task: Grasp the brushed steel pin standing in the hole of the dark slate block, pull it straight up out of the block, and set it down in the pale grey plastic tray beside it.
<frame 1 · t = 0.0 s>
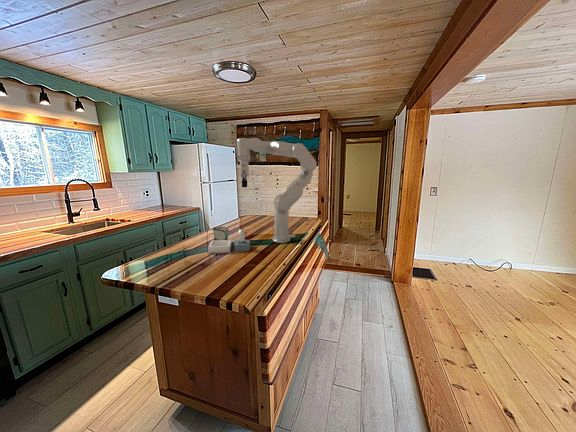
hand: (244, 186, 148), 37 cm above the countertop, tool pointing down, fingers open, 9 cm apart
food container: (223, 242, 154), on the countertop
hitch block: (242, 248, 142), on the countertop
steel pin: (242, 239, 141), in the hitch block
parts tray: (220, 249, 140), on the countertop
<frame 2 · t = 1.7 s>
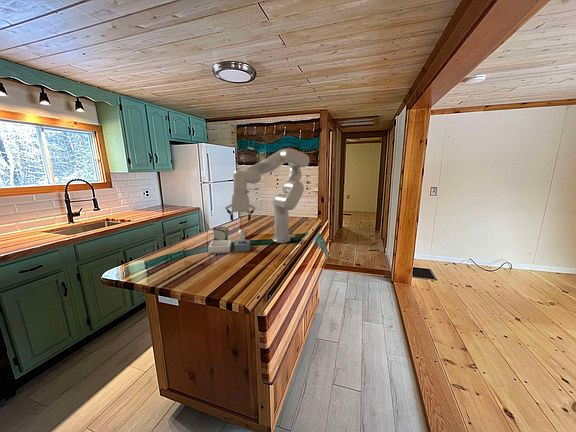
hand: (240, 221, 138), 17 cm above the countertop, tool pointing down, fingers open, 9 cm apart
nothing on the countertop moved.
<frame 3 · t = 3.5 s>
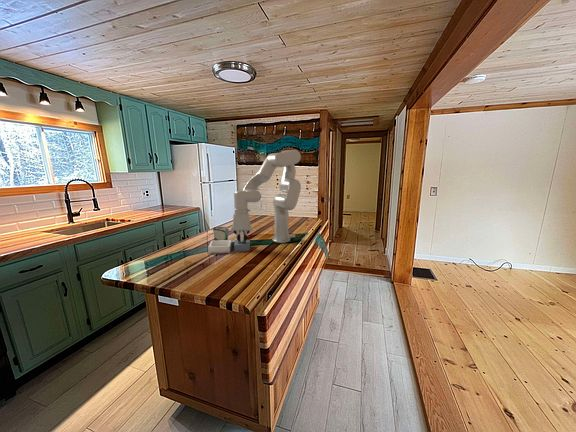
hand: (242, 240, 141), 5 cm above the countertop, tool pointing down, fingers closed on steel pin, 3 cm apart
steel pin: (242, 239, 141), in the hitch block, touching gripper
everything else where it was.
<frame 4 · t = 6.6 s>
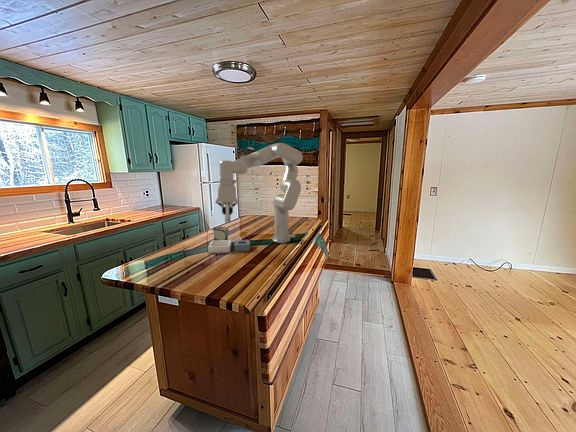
hand: (227, 214, 136), 22 cm above the countertop, tool pointing down, fingers closed on steel pin, 3 cm apart
steel pin: (227, 212, 136), point 23 cm above the countertop, touching gripper
everything else where it was.
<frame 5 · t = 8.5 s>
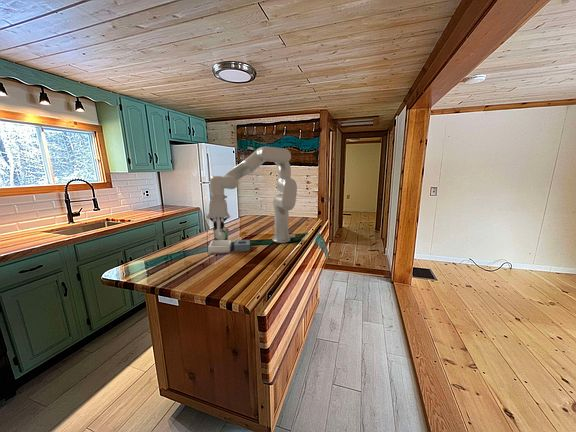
hand: (219, 228, 137), 13 cm above the countertop, tool pointing down, fingers closed on steel pin, 3 cm apart
steel pin: (218, 226, 137), point 14 cm above the countertop, touching gripper
everything else where it was.
when the fingers open (7 cm above the countertop, at t = 9.8 s): steel pin drops 1 cm, resting on parts tray.
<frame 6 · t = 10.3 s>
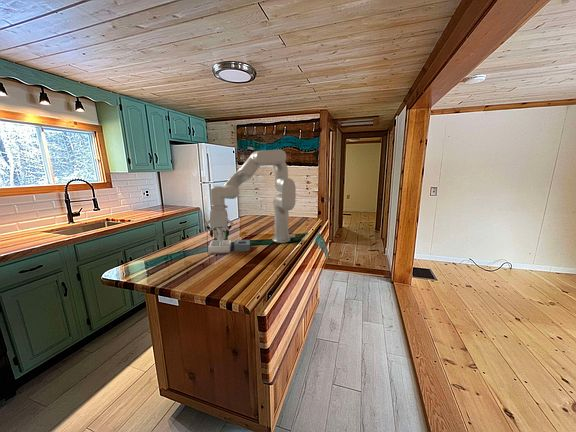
hand: (219, 236, 138), 8 cm above the countertop, tool pointing down, fingers open, 8 cm apart
steel pin: (220, 238, 139), in the parts tray, point 7 cm above the countertop
everything else where it was.
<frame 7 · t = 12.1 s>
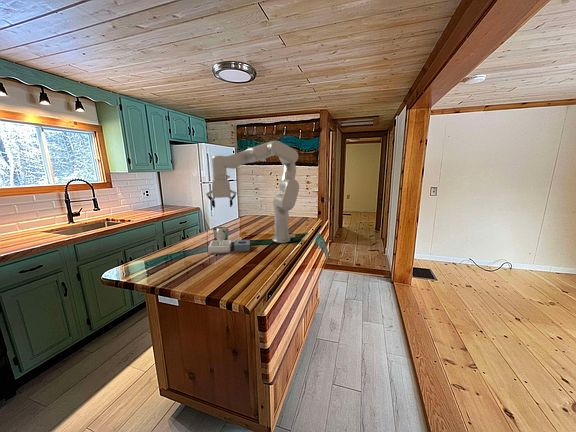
hand: (222, 207, 138), 26 cm above the countertop, tool pointing down, fingers open, 9 cm apart
nothing on the countertop moved.
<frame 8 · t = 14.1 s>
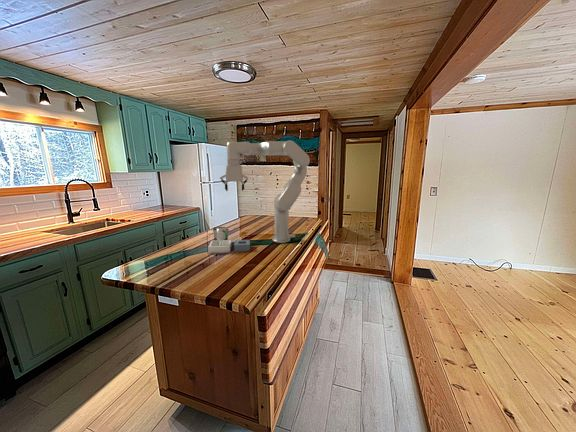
hand: (234, 190, 146), 34 cm above the countertop, tool pointing down, fingers open, 9 cm apart
nothing on the countertop moved.
at the end: steel pin inside the target area on the parts tray (0.1 cm from its centre), point 7.0 cm above the parts tray's base; the gripper is holding nothing; steel pin moved 12.9 cm from its start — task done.
